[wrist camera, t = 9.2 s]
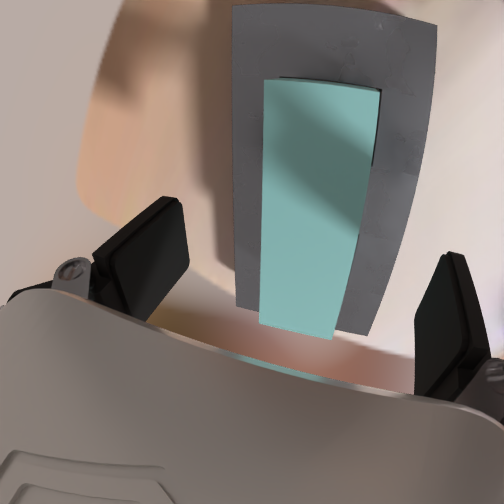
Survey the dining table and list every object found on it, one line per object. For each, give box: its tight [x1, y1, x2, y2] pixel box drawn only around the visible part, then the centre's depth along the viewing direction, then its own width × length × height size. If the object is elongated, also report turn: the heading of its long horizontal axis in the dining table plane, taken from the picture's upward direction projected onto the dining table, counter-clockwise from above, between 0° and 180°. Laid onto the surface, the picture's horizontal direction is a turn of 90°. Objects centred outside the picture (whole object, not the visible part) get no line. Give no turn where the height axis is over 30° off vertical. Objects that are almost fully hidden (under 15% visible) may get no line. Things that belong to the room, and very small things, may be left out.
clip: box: [259, 78, 380, 340], centre depth 15 cm, size 12×4×8 cm, turn 179°
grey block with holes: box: [232, 3, 437, 336], centre depth 17 cm, size 20×10×3 cm, turn 179°
